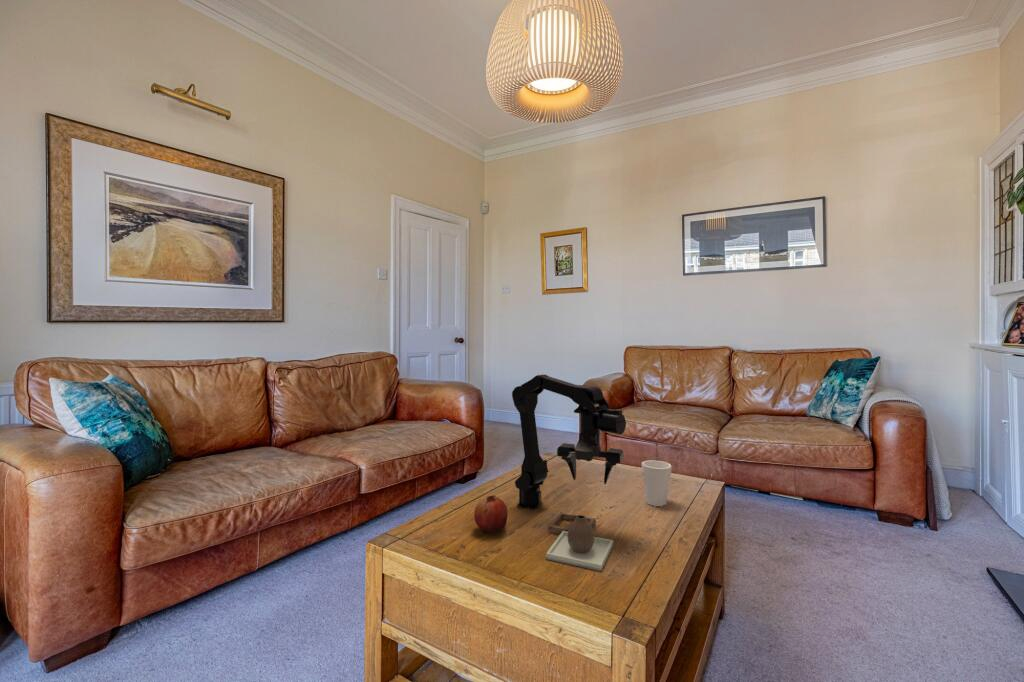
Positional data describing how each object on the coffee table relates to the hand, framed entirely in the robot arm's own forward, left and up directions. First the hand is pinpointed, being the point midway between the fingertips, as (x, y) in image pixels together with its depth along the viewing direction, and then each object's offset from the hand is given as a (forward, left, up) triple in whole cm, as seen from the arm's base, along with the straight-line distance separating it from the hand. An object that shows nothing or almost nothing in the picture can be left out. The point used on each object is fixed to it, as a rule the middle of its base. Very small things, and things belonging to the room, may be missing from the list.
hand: (589, 481), depth 133 cm
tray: (+2, -17, -13) cm, 21 cm away
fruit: (-25, -15, -13) cm, 32 cm away
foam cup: (+16, +26, -13) cm, 33 cm away
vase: (+2, -17, -13) cm, 21 cm away
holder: (-4, -4, -13) cm, 14 cm away
